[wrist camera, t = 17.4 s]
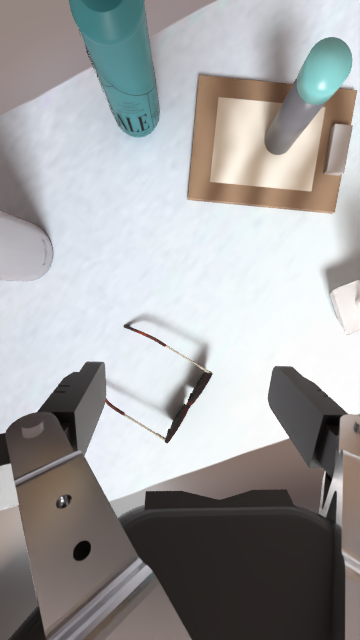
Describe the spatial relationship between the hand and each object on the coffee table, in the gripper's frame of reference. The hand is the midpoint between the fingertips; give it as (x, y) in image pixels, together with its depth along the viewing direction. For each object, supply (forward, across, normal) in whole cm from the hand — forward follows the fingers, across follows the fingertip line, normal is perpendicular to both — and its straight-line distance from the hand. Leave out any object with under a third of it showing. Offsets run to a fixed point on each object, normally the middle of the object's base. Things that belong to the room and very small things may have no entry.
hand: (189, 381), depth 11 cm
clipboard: (+30, -13, -21) cm, 39 cm away
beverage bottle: (+32, +6, -23) cm, 40 cm away
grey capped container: (+29, -14, -22) cm, 39 cm away
